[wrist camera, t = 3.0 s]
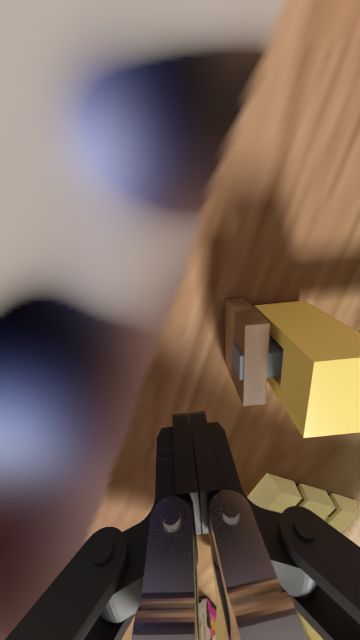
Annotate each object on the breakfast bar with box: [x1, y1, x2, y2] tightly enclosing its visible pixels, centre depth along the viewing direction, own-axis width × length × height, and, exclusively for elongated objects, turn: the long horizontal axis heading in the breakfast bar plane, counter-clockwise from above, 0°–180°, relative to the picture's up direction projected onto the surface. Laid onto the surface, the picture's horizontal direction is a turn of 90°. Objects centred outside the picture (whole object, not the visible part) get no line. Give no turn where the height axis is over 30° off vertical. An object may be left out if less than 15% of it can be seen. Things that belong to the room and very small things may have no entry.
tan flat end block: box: [225, 297, 270, 406], centre depth 18 cm, size 2×6×6 cm, turn 5°
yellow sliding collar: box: [254, 301, 360, 438], centre depth 16 cm, size 4×5×8 cm
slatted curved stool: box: [213, 473, 360, 640], centre depth 23 cm, size 30×16×18 cm, turn 65°
